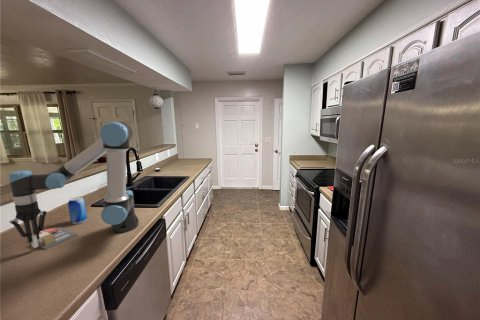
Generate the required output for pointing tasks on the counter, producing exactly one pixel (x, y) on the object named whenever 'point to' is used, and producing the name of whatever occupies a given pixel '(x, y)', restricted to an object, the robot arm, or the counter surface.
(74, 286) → the counter surface
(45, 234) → the ivory slider
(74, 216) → the beer can
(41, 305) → the counter surface
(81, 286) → the counter surface
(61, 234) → the panel
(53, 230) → the block
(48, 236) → the brass slider
